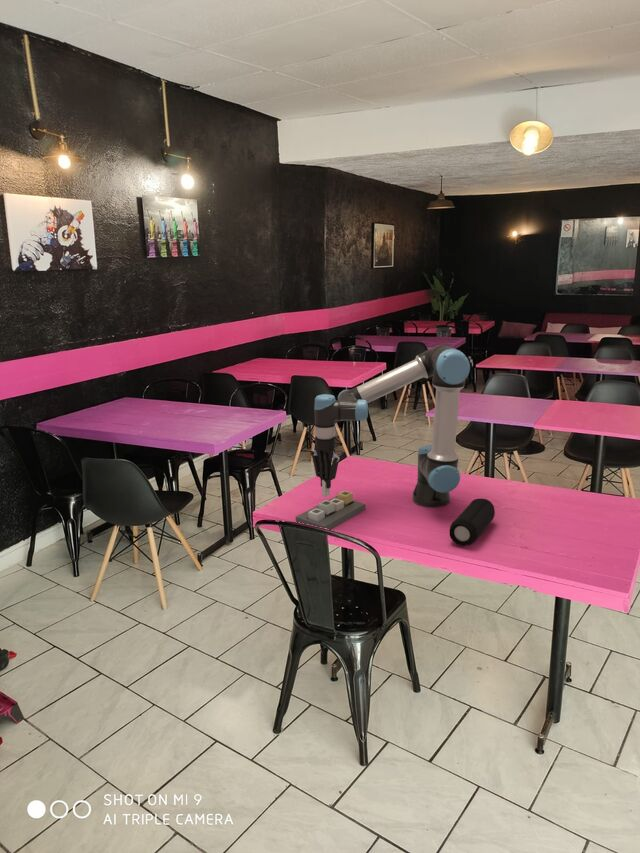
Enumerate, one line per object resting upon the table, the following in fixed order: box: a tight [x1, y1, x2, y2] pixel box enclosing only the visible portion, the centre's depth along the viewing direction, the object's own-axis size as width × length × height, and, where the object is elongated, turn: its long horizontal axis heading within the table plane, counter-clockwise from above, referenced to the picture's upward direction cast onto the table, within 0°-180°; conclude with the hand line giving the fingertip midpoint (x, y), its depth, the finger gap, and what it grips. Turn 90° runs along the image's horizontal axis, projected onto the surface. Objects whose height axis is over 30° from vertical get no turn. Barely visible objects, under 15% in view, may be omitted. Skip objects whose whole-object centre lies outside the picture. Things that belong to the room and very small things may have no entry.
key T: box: [331, 498, 344, 511], centre depth 244 cm, size 4×4×4 cm
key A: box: [317, 499, 335, 515], centre depth 240 cm, size 4×4×4 cm
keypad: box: [295, 495, 366, 530], centre depth 243 cm, size 14×26×2 cm, turn 141°
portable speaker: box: [449, 498, 496, 547], centre depth 225 cm, size 26×10×10 cm, turn 148°
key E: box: [308, 508, 325, 522], centre depth 236 cm, size 4×4×4 cm
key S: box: [336, 490, 354, 504], centre depth 248 cm, size 4×4×4 cm
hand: (325, 495), depth 238 cm, fingers closed
